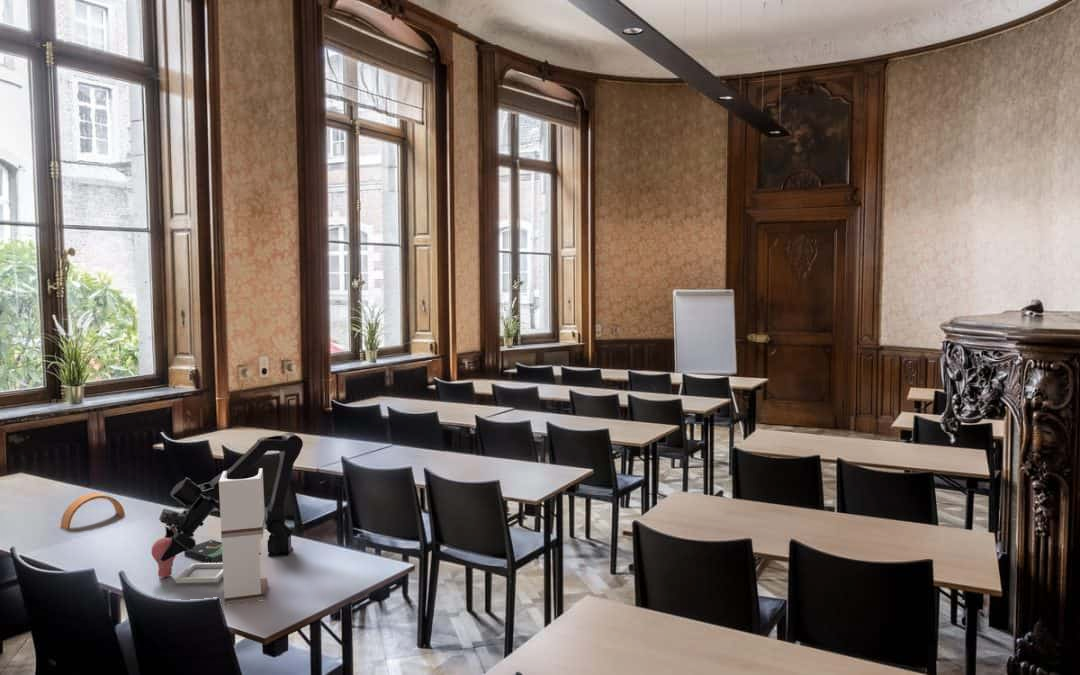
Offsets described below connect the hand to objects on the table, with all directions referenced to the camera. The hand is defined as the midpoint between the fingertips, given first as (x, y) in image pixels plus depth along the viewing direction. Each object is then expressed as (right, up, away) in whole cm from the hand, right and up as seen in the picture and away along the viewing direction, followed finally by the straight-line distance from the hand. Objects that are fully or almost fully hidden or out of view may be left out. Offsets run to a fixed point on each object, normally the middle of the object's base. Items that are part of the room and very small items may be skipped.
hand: (160, 556), depth 232 cm
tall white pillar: (+31, -8, -12) cm, 34 cm away
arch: (-51, -2, +54) cm, 74 cm away
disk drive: (+7, -5, +20) cm, 22 cm away
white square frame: (+13, -6, +1) cm, 15 cm away
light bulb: (+1, -7, +1) cm, 7 cm away
